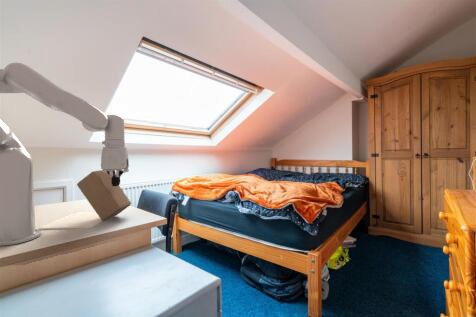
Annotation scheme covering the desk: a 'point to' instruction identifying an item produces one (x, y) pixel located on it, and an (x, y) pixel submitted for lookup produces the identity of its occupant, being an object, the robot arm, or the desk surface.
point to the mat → (75, 221)
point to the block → (103, 195)
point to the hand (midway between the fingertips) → (115, 185)
